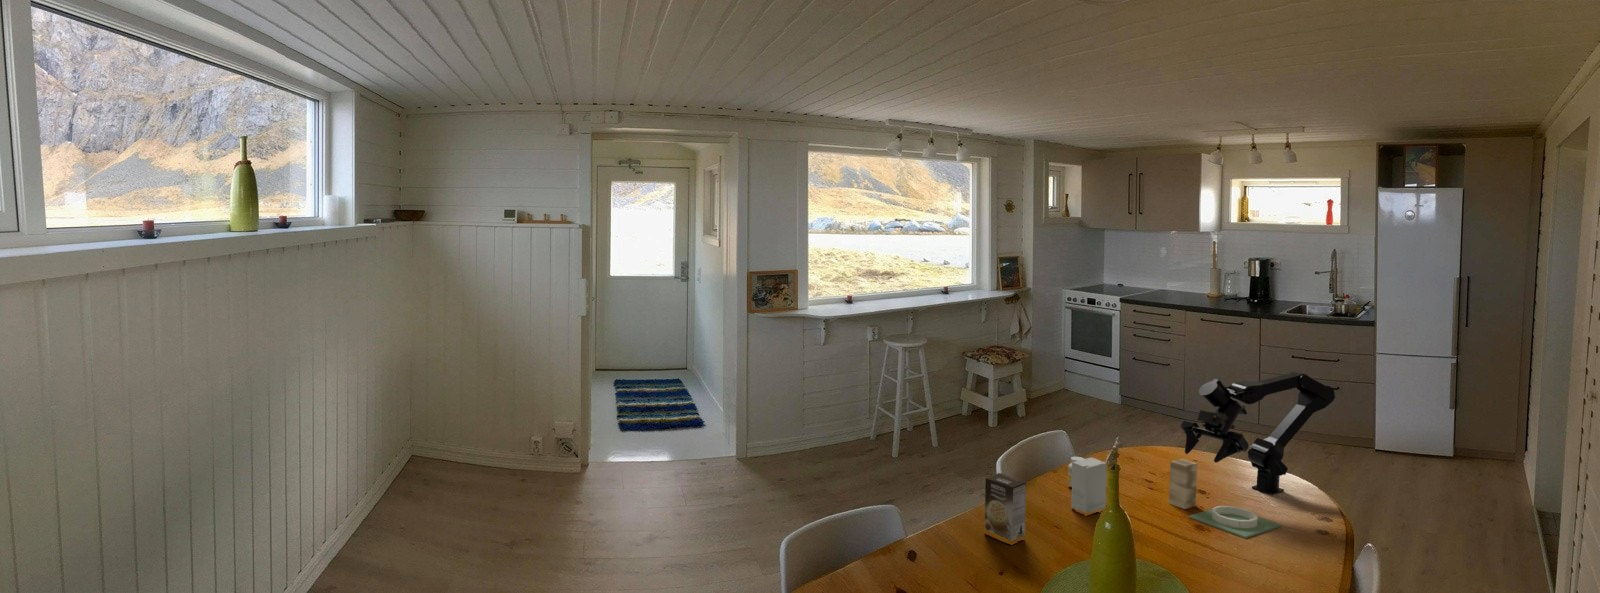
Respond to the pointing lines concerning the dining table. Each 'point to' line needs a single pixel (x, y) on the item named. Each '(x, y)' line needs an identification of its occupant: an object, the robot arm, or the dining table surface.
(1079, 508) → the skincare box
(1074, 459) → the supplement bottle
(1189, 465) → the oak block
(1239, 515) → the putting green
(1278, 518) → the dining table surface
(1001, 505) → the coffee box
